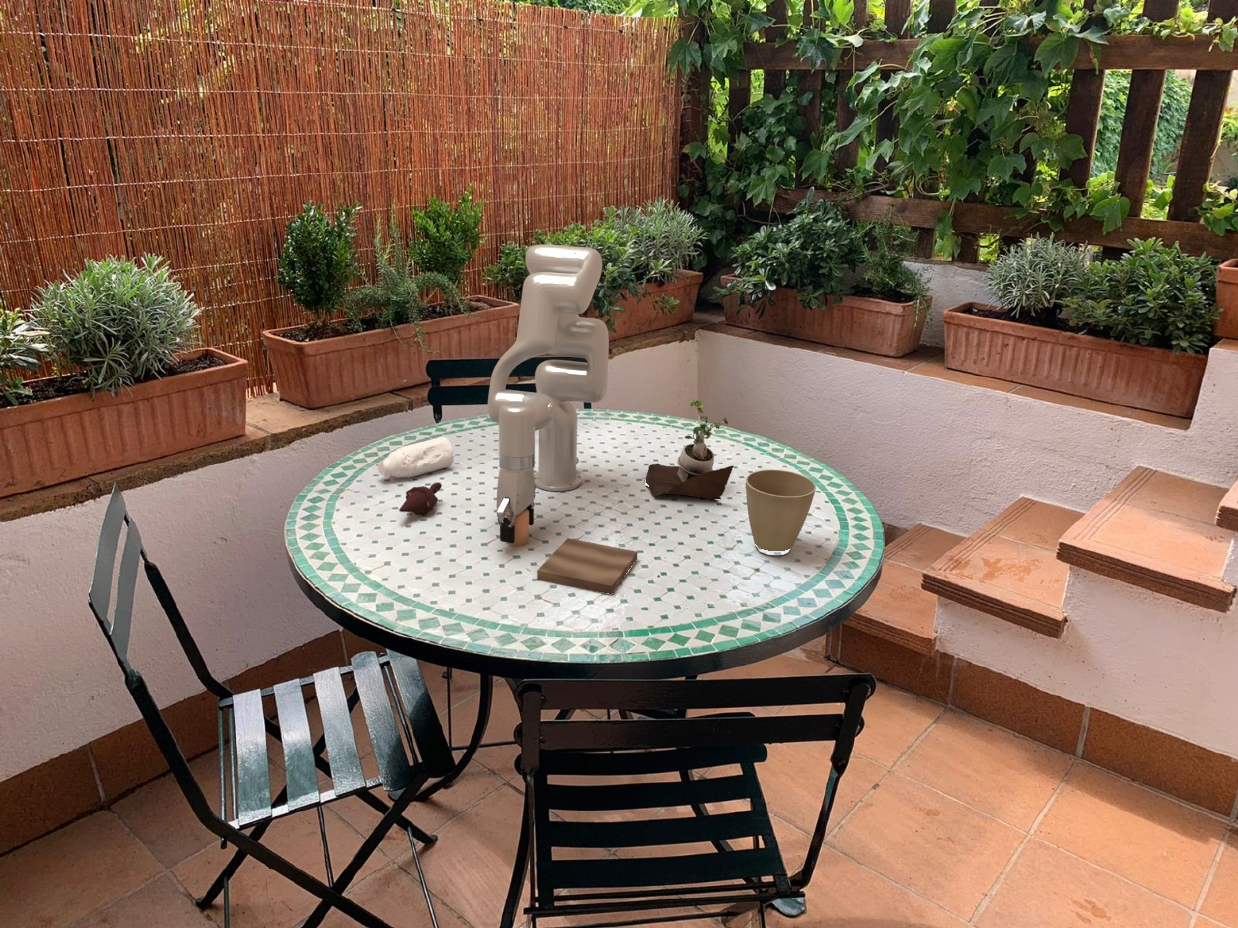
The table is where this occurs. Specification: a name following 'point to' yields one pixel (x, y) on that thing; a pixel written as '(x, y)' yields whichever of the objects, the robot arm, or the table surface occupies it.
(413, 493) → the dark brown tapered piece
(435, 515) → the table surface
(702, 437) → the potted plant
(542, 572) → the walnut board
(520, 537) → the terracotta cylinder
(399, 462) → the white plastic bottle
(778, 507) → the plant pot
